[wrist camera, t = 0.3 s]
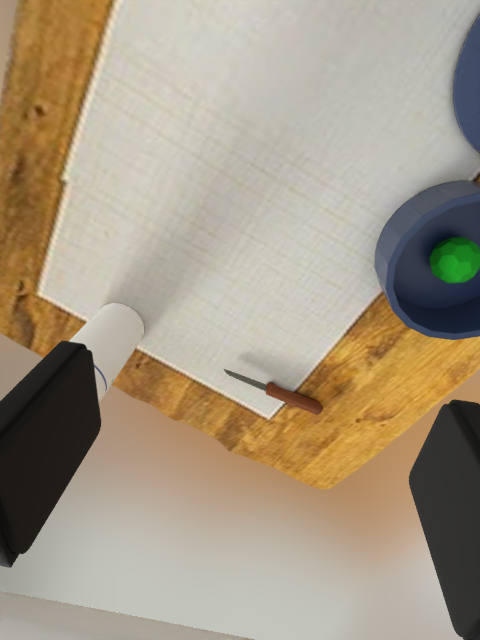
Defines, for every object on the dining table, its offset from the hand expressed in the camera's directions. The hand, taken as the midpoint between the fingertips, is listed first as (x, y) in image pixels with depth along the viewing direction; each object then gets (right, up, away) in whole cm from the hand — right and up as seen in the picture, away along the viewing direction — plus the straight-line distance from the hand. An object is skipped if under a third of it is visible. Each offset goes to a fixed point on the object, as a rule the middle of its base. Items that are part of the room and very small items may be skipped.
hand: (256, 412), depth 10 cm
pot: (+23, +10, +33) cm, 41 cm away
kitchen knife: (+5, -7, +46) cm, 47 cm away
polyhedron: (+23, +10, +33) cm, 41 cm away
